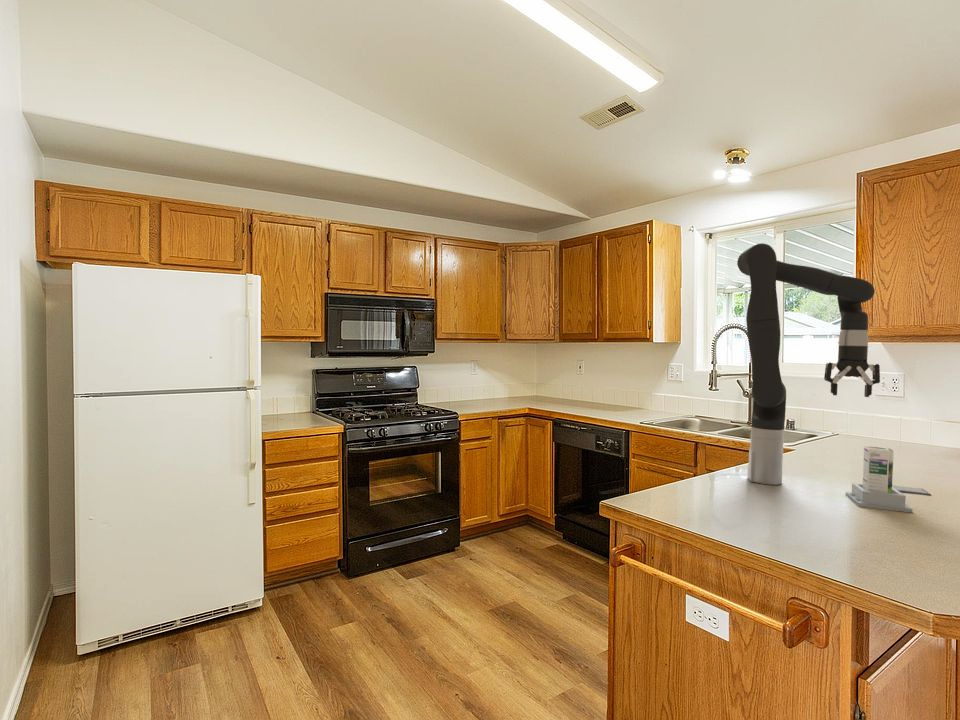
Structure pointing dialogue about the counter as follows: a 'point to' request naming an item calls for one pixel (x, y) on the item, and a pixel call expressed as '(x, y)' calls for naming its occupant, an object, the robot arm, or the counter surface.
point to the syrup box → (878, 469)
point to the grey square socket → (878, 499)
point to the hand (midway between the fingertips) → (850, 396)
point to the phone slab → (911, 490)
